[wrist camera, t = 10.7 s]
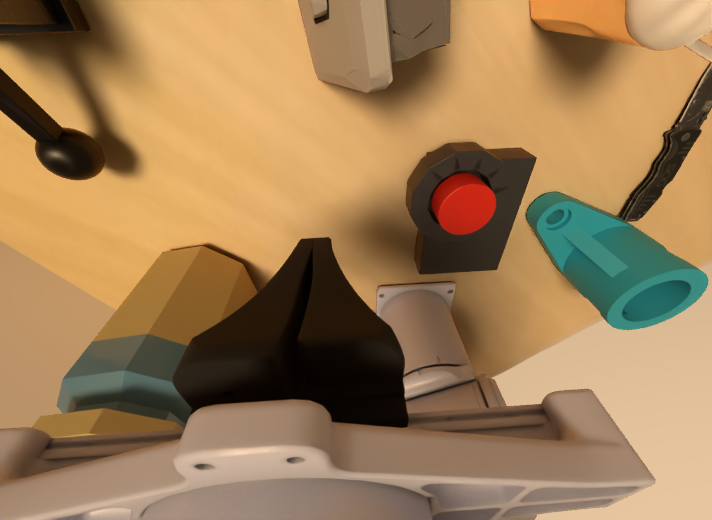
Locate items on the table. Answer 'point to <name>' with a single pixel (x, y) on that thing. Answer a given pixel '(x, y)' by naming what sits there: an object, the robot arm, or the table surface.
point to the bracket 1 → (41, 17)
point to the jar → (148, 347)
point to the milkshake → (631, 21)
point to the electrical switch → (370, 37)
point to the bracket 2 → (614, 263)
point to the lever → (51, 135)
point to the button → (463, 204)
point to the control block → (486, 245)
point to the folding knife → (673, 150)
